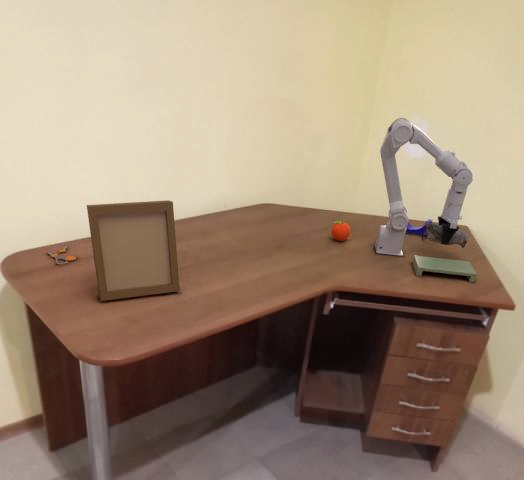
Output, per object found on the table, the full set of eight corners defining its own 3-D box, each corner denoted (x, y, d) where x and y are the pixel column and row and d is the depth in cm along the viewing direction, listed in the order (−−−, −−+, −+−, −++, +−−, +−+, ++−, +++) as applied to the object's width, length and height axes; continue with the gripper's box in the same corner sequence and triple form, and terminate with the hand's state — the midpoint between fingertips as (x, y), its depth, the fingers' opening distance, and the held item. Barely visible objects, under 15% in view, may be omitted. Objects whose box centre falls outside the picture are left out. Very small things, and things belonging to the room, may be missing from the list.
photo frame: (179, 294, 149) (178, 208, 135) (101, 304, 141) (91, 214, 127) (166, 271, 160) (164, 191, 146) (93, 279, 152) (83, 195, 138)
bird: (465, 251, 181) (472, 231, 177) (419, 244, 183) (424, 224, 178) (463, 245, 185) (470, 225, 181) (418, 239, 187) (423, 219, 183)
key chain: (78, 262, 160) (78, 260, 160) (54, 266, 157) (53, 263, 156) (68, 246, 169) (68, 244, 168) (45, 250, 166) (44, 247, 165)
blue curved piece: (396, 229, 207) (399, 215, 203) (399, 226, 210) (403, 212, 207) (425, 237, 202) (429, 223, 198) (428, 234, 205) (432, 220, 202)
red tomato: (325, 241, 191) (328, 222, 187) (329, 234, 196) (332, 216, 193) (347, 245, 189) (350, 226, 185) (350, 238, 195) (353, 220, 191)
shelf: (416, 275, 172) (418, 267, 170) (412, 263, 180) (414, 255, 179) (474, 282, 171) (476, 274, 170) (467, 269, 180) (469, 261, 178)
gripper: (470, 211, 169) (458, 250, 177) (461, 197, 181) (450, 234, 189) (449, 208, 170) (437, 247, 177) (440, 195, 182) (430, 232, 189)
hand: (442, 240), depth 183 cm, fingers closed on bird, 5 cm apart
